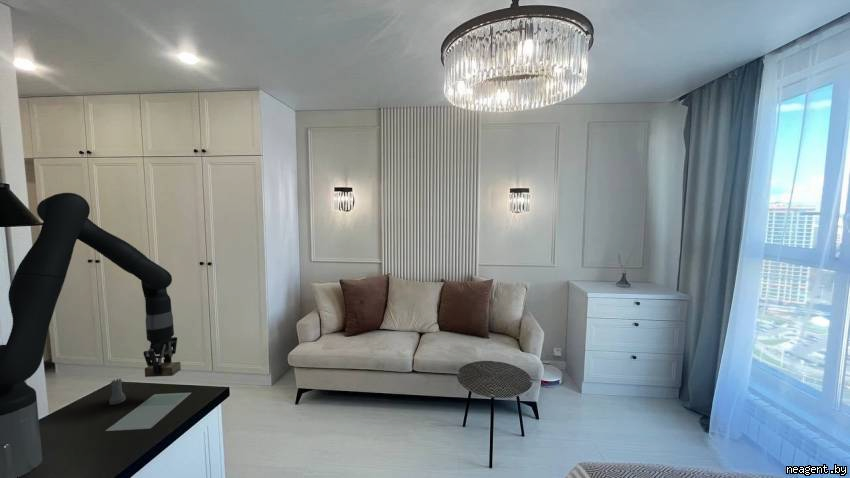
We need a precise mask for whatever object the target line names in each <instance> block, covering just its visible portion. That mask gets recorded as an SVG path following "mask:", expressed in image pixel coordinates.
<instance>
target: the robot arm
mask: <svg viewBox="0 0 850 478" xmlns="http://www.w3.org/2000/svg"><path fill="white" fill-rule="evenodd" d="M90 208H91V207H90V204H89V203H88V201H87V200H86V198H85V197H83V196H81V195H80V194H77V193H73V192H60V193H57V194H53V195H51V196H48V197H47V198H45V199H42V200H41V201H40V202H39V203H38V204H37V207H36V212H37V213H36V214H37V216H38V217H39V219H40V220H41V221H42V223H41V224H42V225H41V229H40V231H39V234H38V237H37V238H36V240H35V241H34V243H33V244H32V245H31V247H30V248H29V250H28V251H27V252H26V254H25V256H24V257H23V258H22V260H21V262H20V263H19V264H18V267H17V268H16V270H15V273H14V275H13V277H12V281H11V284H10V286H9V289H8V302H9V303H8V304H9V307H10V311H11V312H10V313H11V316H12V326H11V327H12V328H11V330H10V333H9V336H8V339H7V342H6V343H5V344H0V478H17V477H18V478H20V477H23V476H24V475H26V474H28V473H30V472H32V471H34V470H35V469H36V468H37V467H38V466H39V465H40V464H41V463H42V462H43V454H42V452H43V451H42V442H41V431H40V420H39V407H38V400H37V398H38V397H37V391H36V389H35V388H34V387H32V386H30V385H29V384H27V383H26V382H25V381H27V380H28V379H29V378H31V377H32V376H34V374H35V373H36V372H37V371H38V369H39V368H40V366H41V364H42V361H43V358H44V353H45V348H46V343H47V338H48V333H49V328H50V324H51V323H52V322H51V321H52V318H53V315H54V312H55V308H56V305H57V302H58V300H59V296H60V294H61V291H62V289H63V286H64V284H65V280H66V277H67V274H68V269H69V267H70V263H71V261H72V256H73V254H74V248H75V245H76V242H77V240H78V241H81V242H82V243H84V244H85V245H87V246H88V247H90V248H91V249H93V250H95V251H96V252H98V253H100V254H101V255H102V256H103V257H105V258H106V259H107V260H109V261H110V262H112V263H114V264H115V265H116V266H117V267H119V268H120V269H122V270H123V271H125V272H126V273H129V274H131V275H133V276H135V277H136V278H138V280H140V281H141V290H142V292H143V297H144V300H145V305H144V307H145V334H146V340H147V341H148V342H149V343H150V346H149V348H148V350H145V351H143V352H142V353H143V357H144V360H145V362H146V367H148V366H153V372H154V375H155V376H157V377H160V376H159V375H161V374H162V364H161V363H162V359H163V363H167V362H172V358H173V355H175V354H176V352H177V343H178V337H177V336H174V335H175V329H174V328H175V327H174V317H173V316H174V315H173V311H172V300H171V297H170V295H169V294H168V291H167V288H169V287H170V285H171V284H172V283H173V277H172V274H171V273H170V272H169V271H168V270H167V269H165V268H164V267H163V266H161V265H159V264H158V263H156V262H155V261H153V260H151V259H150V258H148V257H147V256H146V255H145V254H144V253H143V252H141V251H140V250H138V249H137V248H136V247H135V246H133V245H132V244H130V243H129V242H127V241H126V240H124V239H121V238H120V237H118V236H116V235H114V234H112V233H110V232H108V231H106V230H104V229H103V228H101V227H100V226H98V225H97V224H96V223H95V222H93V221H92V220H91V219H89V216H90V212H91V210H90Z"/></svg>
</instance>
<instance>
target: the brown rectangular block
mask: <svg viewBox="0 0 850 478" xmlns="http://www.w3.org/2000/svg"><path fill="white" fill-rule="evenodd" d="M161 364H162V374H161V375H159V376H155V375H154V372H153V366H146V367H144V377H145V378H153V377H154V378H155V377H173V376H174V375H176V374H178V373H179V372H180V371H181V370H182V367H181V365H182V364H181V361H171V362H167V363H164V362H161Z"/></svg>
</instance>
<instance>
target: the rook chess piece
mask: <svg viewBox="0 0 850 478" xmlns="http://www.w3.org/2000/svg"><path fill="white" fill-rule="evenodd" d="M122 383H123V380H122V378H117V379H116V378H115V379H113V380H111V381H110V384H109V386H111V390H112V391H111V396H110V398H109V400H108V401H109V403H108V404H109V405H116V404H122V403H123V402H124V401H126V399H127V398H126V395H125V393H124V392H123V389H122V387H123V385H122Z"/></svg>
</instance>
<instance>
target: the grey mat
mask: <svg viewBox="0 0 850 478" xmlns="http://www.w3.org/2000/svg"><path fill="white" fill-rule="evenodd" d="M191 394H192V392H174V393H173V392H172V393H154V394H153V395H152V396H150V397H149V398H148V399H146V400H145V401H144V402H142V403H141V404H139V405H138V406H137V407H135V408H134V409H132V410H131V411H130V412H129V413H127V414H126V415H125V416H123V417H121V419H119V420H117V422H115V423H114V424H112V425H111V426H110V427H109V428H106V430H105V432H111V431H114V432H115V431H128V430H129V431H130V430H131V431H132V430H133V431H134V430H147V429H148V430H150V429H151V428H153V427H154V426H155V425H156V424H157V423H159V422H160V421H161V420H162V419H163V418H165V417H166V416H167V415H168V414H169V413H170V412H172V411H173V410H174V409H175V408H176V407H177V406H178V405H180V403H182V402H183V401H184V400H185V399H186V398H187V397H189V396H190V395H191Z"/></svg>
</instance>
